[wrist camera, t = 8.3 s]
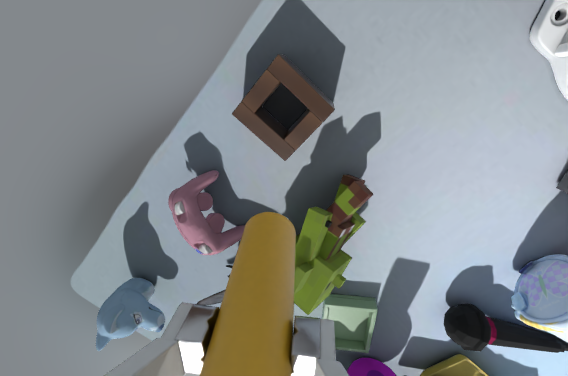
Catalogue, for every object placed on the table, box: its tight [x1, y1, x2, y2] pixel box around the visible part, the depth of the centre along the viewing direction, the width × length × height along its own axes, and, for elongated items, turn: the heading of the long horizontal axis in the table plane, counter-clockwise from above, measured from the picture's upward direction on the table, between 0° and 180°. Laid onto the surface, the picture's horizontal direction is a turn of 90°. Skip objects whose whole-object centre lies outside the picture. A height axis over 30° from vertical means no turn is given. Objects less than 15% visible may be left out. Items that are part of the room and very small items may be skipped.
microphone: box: [444, 304, 568, 353], centre depth 38 cm, size 6×6×20 cm
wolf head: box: [96, 278, 165, 351], centre depth 40 cm, size 6×9×10 cm
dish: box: [322, 294, 378, 353], centre depth 41 cm, size 9×7×2 cm
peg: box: [200, 212, 296, 376], centre depth 12 cm, size 3×3×9 cm
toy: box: [294, 175, 373, 315], centre depth 32 cm, size 10×7×15 cm
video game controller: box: [168, 170, 245, 255], centre depth 34 cm, size 10×5×7 cm, turn 23°
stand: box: [232, 54, 335, 161], centre depth 28 cm, size 7×7×4 cm
